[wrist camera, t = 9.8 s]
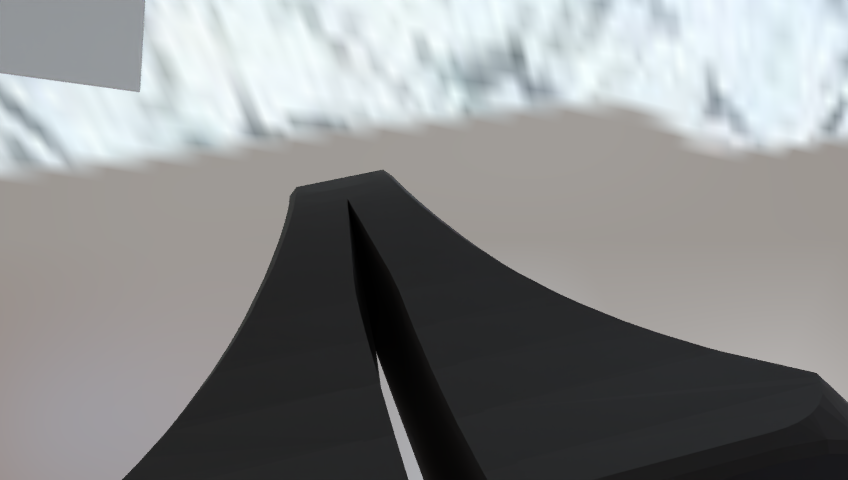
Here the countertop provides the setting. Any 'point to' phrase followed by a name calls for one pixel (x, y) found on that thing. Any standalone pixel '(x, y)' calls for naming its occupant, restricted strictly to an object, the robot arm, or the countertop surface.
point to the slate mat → (74, 41)
